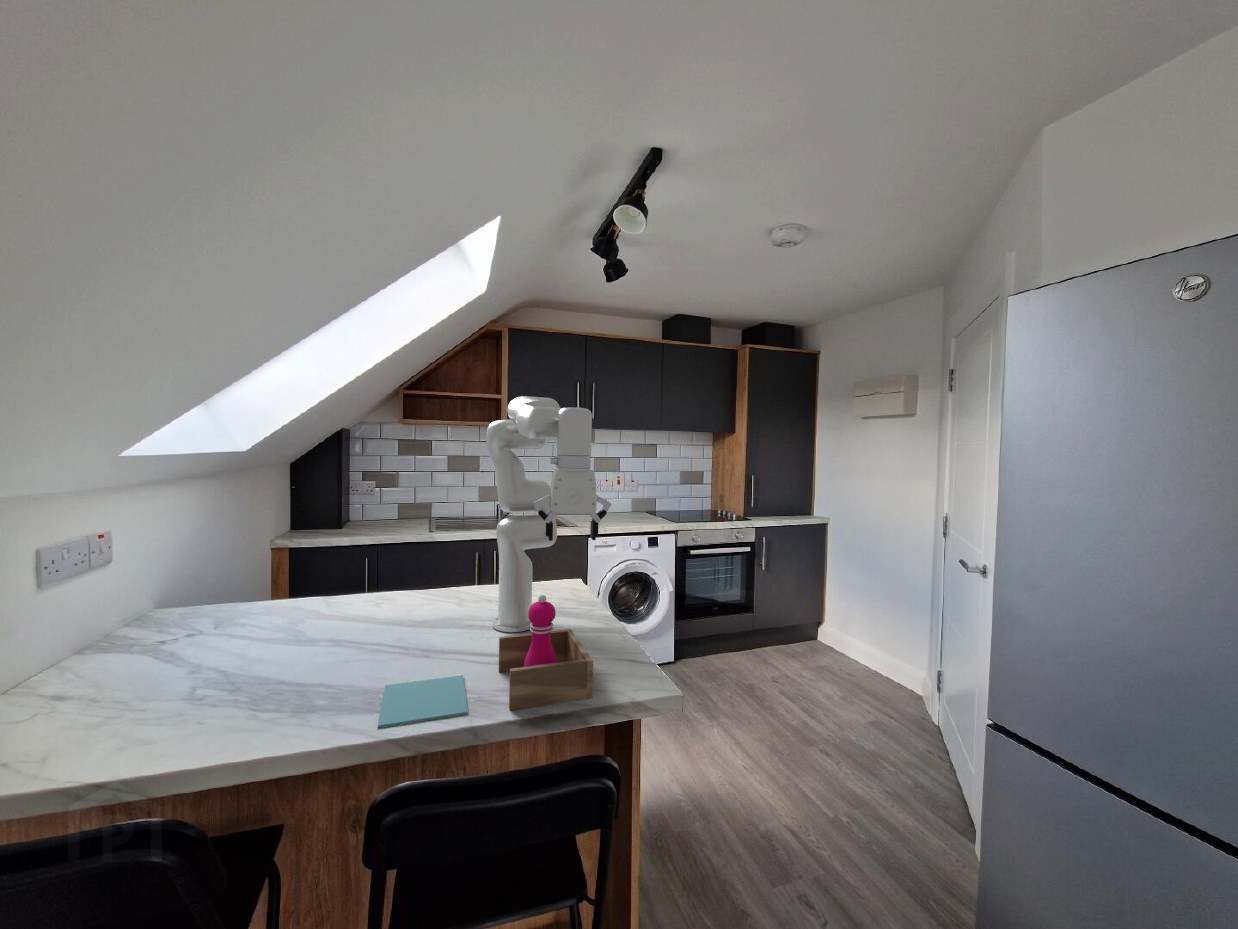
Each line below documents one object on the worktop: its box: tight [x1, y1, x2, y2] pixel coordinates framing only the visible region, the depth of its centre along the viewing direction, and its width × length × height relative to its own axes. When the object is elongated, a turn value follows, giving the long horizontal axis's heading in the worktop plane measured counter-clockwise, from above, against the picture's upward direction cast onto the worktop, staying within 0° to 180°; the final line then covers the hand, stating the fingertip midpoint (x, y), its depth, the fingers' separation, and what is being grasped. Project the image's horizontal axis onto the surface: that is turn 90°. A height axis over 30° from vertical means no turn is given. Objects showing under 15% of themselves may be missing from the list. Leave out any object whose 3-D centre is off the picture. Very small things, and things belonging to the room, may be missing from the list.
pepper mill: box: [524, 594, 557, 667], centre depth 111 cm, size 7×7×20 cm
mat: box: [377, 674, 469, 729], centre depth 103 cm, size 16×16×1 cm
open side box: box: [498, 628, 594, 711], centre depth 112 cm, size 18×17×8 cm
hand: (571, 539), depth 113 cm, fingers open, 9 cm apart
